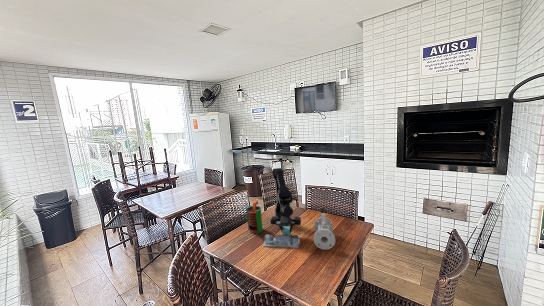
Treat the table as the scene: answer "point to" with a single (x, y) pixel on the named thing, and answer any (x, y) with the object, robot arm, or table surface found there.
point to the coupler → (286, 230)
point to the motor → (254, 218)
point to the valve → (323, 232)
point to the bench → (282, 241)
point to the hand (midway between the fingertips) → (286, 233)
